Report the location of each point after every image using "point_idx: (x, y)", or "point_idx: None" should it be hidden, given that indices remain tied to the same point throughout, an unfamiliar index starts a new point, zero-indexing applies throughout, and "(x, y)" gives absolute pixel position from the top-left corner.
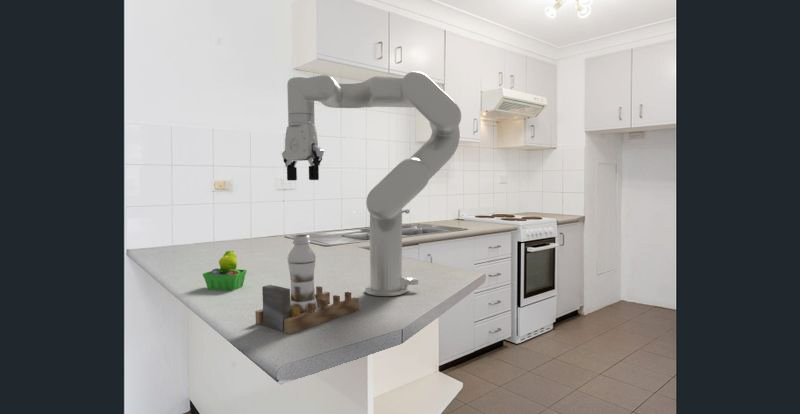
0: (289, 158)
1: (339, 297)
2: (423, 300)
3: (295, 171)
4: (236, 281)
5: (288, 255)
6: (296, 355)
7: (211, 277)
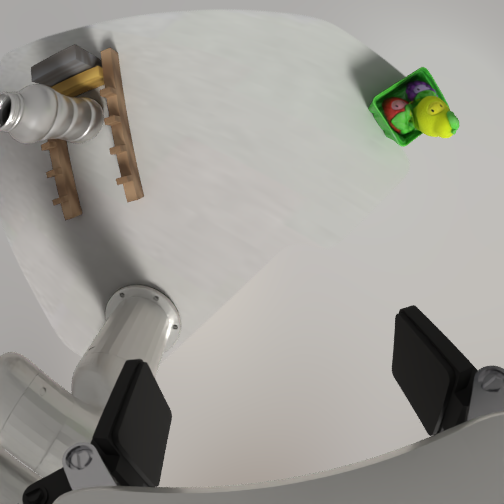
0: (433, 446)
1: (48, 177)
2: (70, 320)
3: (418, 407)
4: (374, 110)
5: (36, 84)
6: (4, 75)
7: (408, 77)
